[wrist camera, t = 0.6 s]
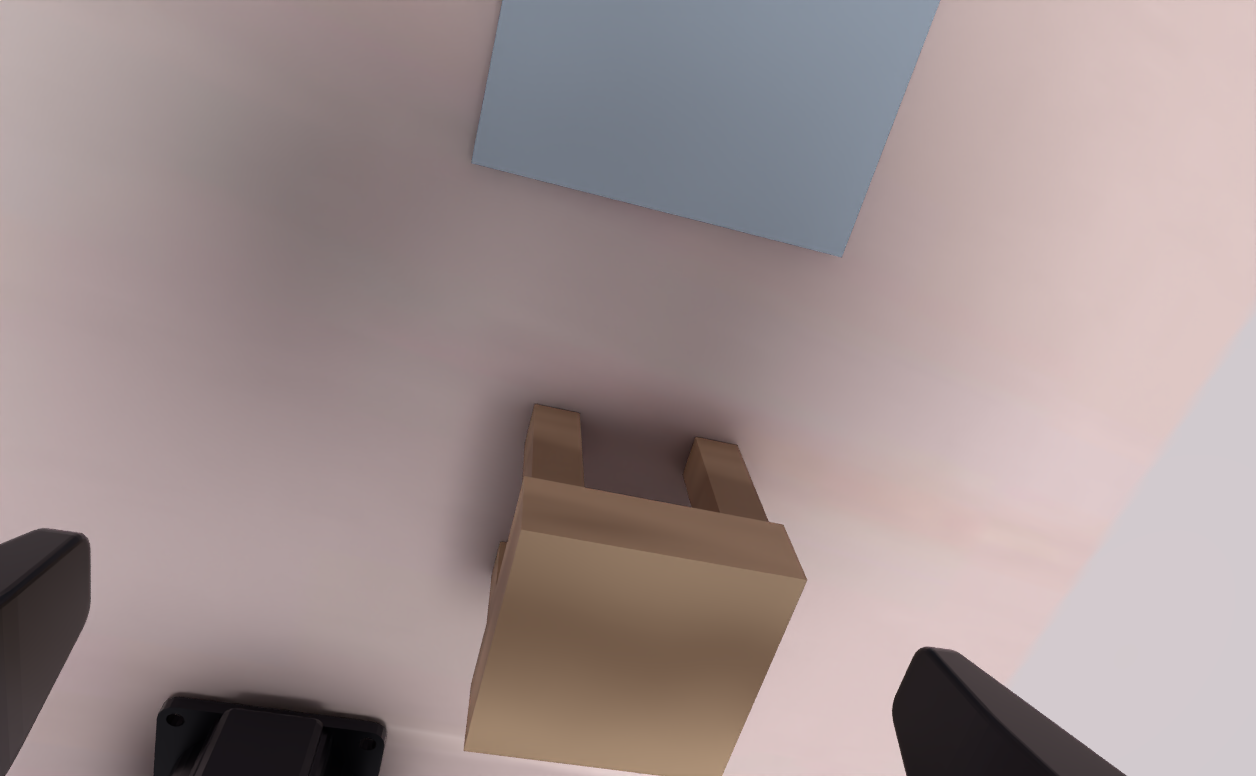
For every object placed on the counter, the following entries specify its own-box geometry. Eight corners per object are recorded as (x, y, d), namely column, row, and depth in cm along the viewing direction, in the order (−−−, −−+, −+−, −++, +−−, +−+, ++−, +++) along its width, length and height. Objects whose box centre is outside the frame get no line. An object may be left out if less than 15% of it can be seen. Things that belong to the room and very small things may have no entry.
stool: (682, 612, 25) (718, 783, 20) (482, 580, 24) (463, 750, 19) (746, 440, 23) (807, 580, 17) (528, 395, 22) (521, 530, 16)
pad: (836, 252, 21) (841, 257, 20) (472, 159, 19) (471, 163, 19) (995, -164, 17) (1004, -167, 17) (565, -321, 16) (565, -329, 15)
